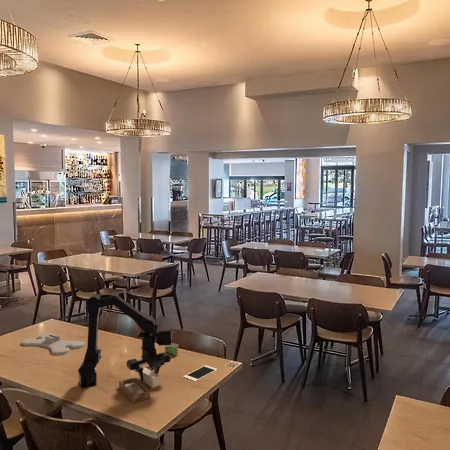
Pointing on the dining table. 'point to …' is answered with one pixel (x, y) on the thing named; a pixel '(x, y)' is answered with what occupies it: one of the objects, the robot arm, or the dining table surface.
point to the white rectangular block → (150, 378)
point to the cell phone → (200, 373)
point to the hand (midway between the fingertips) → (148, 379)
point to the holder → (53, 343)
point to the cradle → (134, 389)
